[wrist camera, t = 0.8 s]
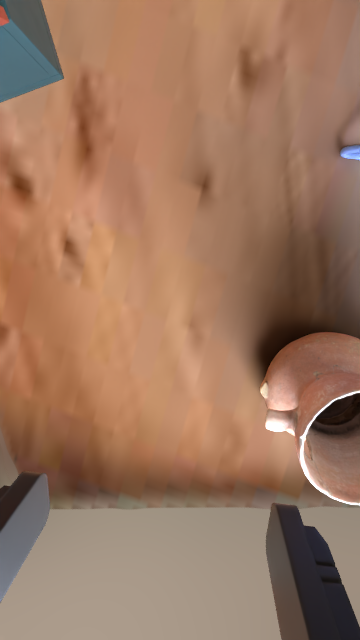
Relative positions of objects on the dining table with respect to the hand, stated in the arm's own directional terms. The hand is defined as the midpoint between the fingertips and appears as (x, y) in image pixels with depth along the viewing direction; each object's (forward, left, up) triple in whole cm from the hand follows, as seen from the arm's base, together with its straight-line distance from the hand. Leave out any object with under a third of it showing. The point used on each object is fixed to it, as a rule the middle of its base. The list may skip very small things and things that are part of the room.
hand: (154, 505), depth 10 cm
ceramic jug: (+5, +18, -29) cm, 35 cm away
